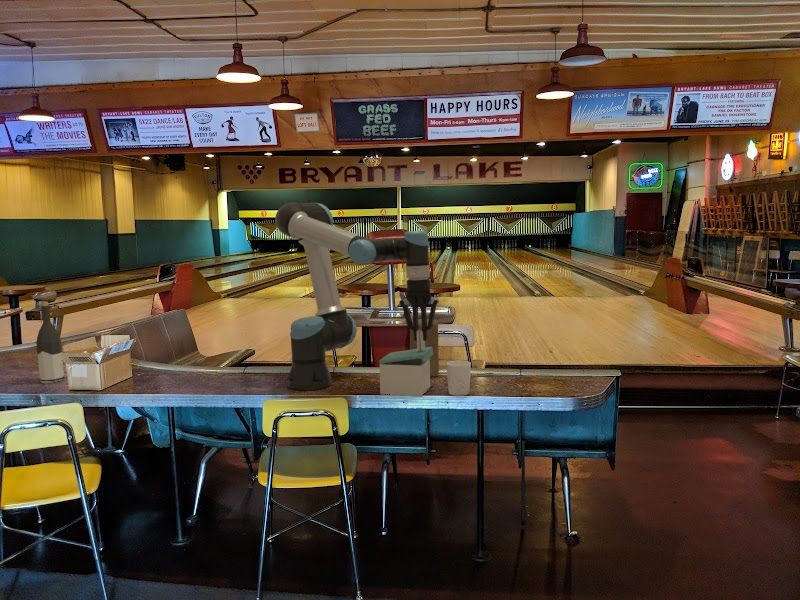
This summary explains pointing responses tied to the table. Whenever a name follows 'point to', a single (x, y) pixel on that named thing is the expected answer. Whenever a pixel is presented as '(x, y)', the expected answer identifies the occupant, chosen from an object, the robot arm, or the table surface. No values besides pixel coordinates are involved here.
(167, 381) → the table surface
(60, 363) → the wine bottle
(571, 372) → the table surface
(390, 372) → the box
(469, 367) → the white cup
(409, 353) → the lid
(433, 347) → the block
